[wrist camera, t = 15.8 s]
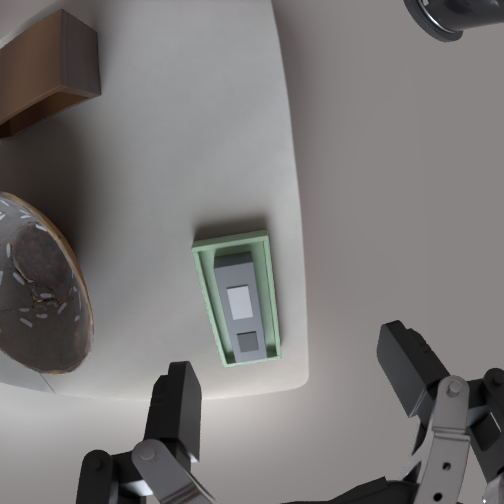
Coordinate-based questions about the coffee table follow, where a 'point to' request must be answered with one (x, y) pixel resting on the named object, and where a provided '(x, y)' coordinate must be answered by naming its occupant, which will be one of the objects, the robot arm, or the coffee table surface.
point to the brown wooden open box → (47, 72)
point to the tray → (265, 286)
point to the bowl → (41, 293)
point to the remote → (241, 305)
